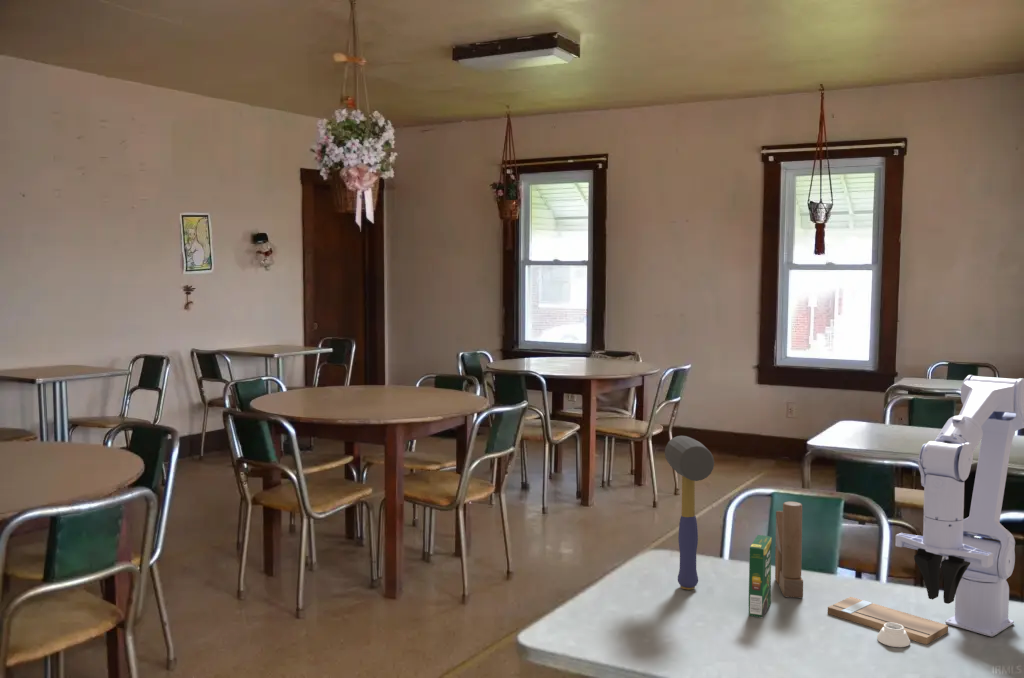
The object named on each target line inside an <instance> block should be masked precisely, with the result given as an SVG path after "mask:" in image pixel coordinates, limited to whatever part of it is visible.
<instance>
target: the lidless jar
mask: <svg viewBox="0 0 1024 678" xmlns="http://www.w3.org/2000/svg"><path fill="white" fill-rule="evenodd" d="M876 637H877V638H876V639H877V641H878V642H880V643H881V644H883V645H885V646H887V647H891V648H904V647H908V646H909V645H910V644H911V640H910V639H909V637H908V635H907V633H906V631H905V630H904V627H903V626H902V625H900V624H897V623H885V624H884V627H883V628H882V629H881V630H879V632H878V633H877V635H876Z"/></svg>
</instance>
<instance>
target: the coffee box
mask: <svg viewBox="0 0 1024 678" xmlns="http://www.w3.org/2000/svg"><path fill="white" fill-rule="evenodd" d="M772 541H773V540H772V536H769V535H763V534H762V535H761V534H757V535H756V536H755V538H754V540H753V541H752V543H751V545H750V546H749V557H748V559H749V561H748V562H749V564H748V571H749V573H748V616H749V617H755V618H761V619H762V618H764V616H765V615H766V613H767V610H768V609H769V607H770V605H771V603H772V595H771V593H772V585H771V584H772Z"/></svg>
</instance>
